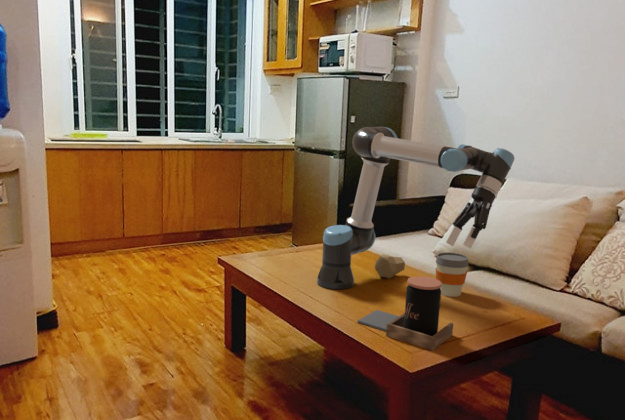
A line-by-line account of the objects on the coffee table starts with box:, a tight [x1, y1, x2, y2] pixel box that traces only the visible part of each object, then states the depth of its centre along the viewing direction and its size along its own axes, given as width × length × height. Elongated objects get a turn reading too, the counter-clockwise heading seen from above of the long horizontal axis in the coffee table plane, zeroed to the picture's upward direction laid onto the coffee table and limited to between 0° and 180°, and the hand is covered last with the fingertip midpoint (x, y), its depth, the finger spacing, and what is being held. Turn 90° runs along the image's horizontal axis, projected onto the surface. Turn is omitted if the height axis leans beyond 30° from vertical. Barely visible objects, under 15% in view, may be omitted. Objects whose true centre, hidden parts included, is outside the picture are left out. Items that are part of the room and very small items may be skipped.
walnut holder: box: [385, 312, 454, 351], centre depth 170 cm, size 16×15×4 cm
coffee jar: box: [403, 275, 442, 336], centre depth 169 cm, size 11×11×18 cm
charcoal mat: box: [356, 309, 400, 332], centre depth 180 cm, size 12×13×1 cm
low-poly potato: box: [374, 254, 406, 280], centre depth 229 cm, size 15×11×12 cm
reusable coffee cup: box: [435, 252, 469, 298], centre depth 211 cm, size 13×13×15 cm
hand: (457, 245), depth 181 cm, fingers open, 13 cm apart
